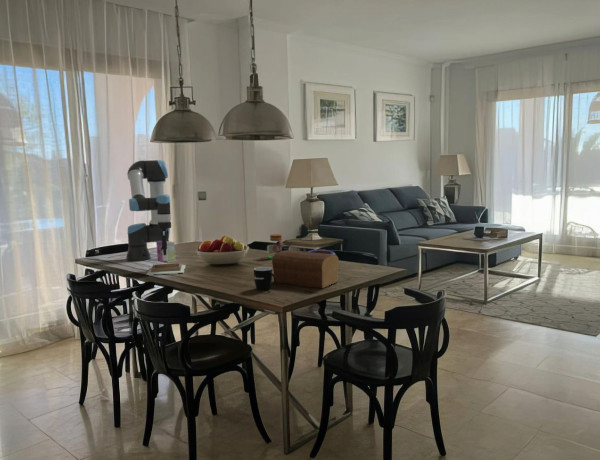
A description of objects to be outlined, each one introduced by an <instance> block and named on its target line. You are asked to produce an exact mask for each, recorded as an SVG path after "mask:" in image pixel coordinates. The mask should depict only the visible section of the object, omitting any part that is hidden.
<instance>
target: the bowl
mask: <svg viewBox="0 0 600 460" xmlns="http://www.w3.org/2000/svg"><path fill="white" fill-rule="evenodd" d="M307 252H312V253H323V254H332V255H336V256H337V254H336V253H335V252H334V251H332V250H330V249H329V250H328V249H312V250H308V251H307Z"/></svg>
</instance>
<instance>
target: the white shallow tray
mask: <svg viewBox="0 0 600 460" xmlns="http://www.w3.org/2000/svg"><path fill="white" fill-rule="evenodd" d="M184 269H186V264H182V262H179V263H177V262H173V263H158V264H157V263H156V264H152V265H151V266H150V267H149V270H148V271H147V272H146V276H147V275H149V276H154V275H153V274H169V275H178V274H177V273H183V274H184V273H185V270H184Z"/></svg>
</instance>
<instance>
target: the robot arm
mask: <svg viewBox="0 0 600 460" xmlns="http://www.w3.org/2000/svg"><path fill="white" fill-rule="evenodd" d="M168 173H169V172H168V169H167V165H166V162H165V160H158V159H154V160H137V161H135V162H134V163H133V164H132V165H130V167H128V170H127V173H126V174H127V175H126V176H127V179H128V180H129V185H130V192H131V198H129V199H128V207H129V211H131V212H145V211H150V213H151V214H150V217H151V220H149V223H148V224H146V223H145V222H142V223H141V222H140V223H133V224H130V225H129V226H127V240H128V248H127V253H126V257H125V259H126V261H128V260H130V261H129V262H131V261H132V262H138V261H140V260H141V261H145V260H147V261H148V260H151V253H150V252H149V249H148V243H156V242H158V241H162V248H161V250H162V253H163V261H168V253H167V241H170V240H169V239H170V234H171V233H170V232H171V231H170V230H171V228H172V221H171V220H172V213H171V195H169V194H165V191H164V190H165V189H164V184H165V183H166V179H168V178H169V175H168ZM145 179H146V182H147V183H148V184H149V192H150V193H149V195H150V197H146V196H145V195H146V194H145V188H144V180H145ZM141 261H140V262H141Z"/></svg>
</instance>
